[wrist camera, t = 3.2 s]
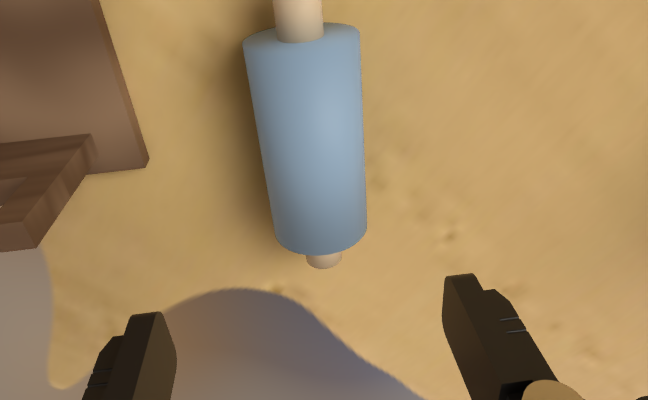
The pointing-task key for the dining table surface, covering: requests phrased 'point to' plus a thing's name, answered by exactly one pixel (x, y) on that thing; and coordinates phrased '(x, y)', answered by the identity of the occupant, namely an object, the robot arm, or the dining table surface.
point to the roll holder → (57, 112)
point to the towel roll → (310, 129)
